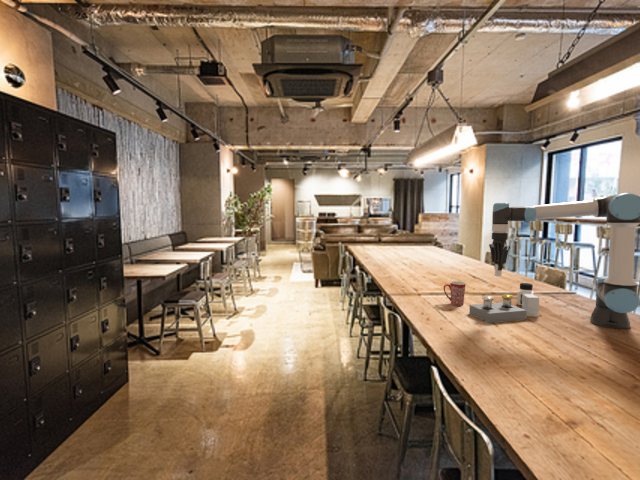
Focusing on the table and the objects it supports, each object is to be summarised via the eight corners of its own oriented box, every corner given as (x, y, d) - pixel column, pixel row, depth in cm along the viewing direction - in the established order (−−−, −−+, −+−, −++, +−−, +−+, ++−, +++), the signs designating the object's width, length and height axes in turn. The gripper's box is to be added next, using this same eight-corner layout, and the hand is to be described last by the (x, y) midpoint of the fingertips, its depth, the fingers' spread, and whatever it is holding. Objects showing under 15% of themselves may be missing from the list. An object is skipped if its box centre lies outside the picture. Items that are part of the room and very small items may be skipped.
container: (532, 306, 198) (533, 285, 197) (517, 304, 203) (518, 283, 202) (533, 303, 205) (534, 282, 203) (518, 301, 209) (519, 281, 208)
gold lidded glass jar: (514, 309, 180) (515, 296, 180) (506, 309, 179) (506, 297, 179) (507, 306, 185) (507, 294, 185) (499, 307, 184) (499, 294, 184)
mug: (465, 303, 208) (466, 281, 206) (464, 307, 200) (465, 284, 198) (444, 300, 213) (444, 280, 212) (442, 304, 205) (442, 283, 204)
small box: (538, 316, 180) (539, 297, 179) (527, 316, 181) (528, 297, 180) (532, 312, 188) (533, 294, 187) (521, 311, 189) (522, 293, 188)
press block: (526, 319, 176) (526, 310, 176) (489, 323, 172) (489, 313, 171) (503, 310, 192) (503, 302, 191) (469, 313, 187) (469, 304, 187)
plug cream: (495, 310, 178) (495, 297, 177) (486, 311, 177) (486, 298, 176) (488, 308, 183) (488, 295, 182) (479, 308, 182) (480, 296, 181)
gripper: (515, 232, 172) (513, 278, 174) (497, 231, 184) (495, 273, 187) (502, 233, 170) (500, 278, 172) (485, 231, 183) (483, 274, 185)
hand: (498, 276), depth 180 cm, fingers closed
